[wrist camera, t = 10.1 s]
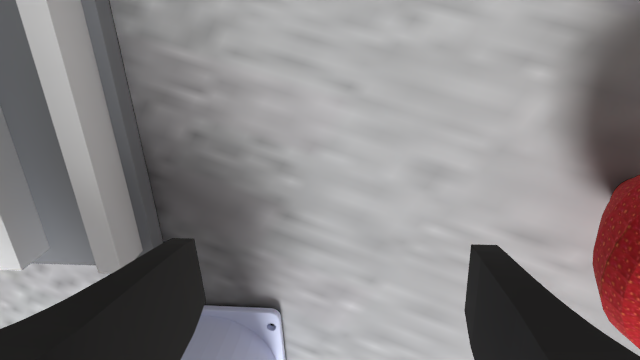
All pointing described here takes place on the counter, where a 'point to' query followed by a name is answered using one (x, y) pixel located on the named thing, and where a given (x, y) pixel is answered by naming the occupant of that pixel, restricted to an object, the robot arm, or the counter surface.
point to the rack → (69, 141)
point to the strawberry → (620, 259)
